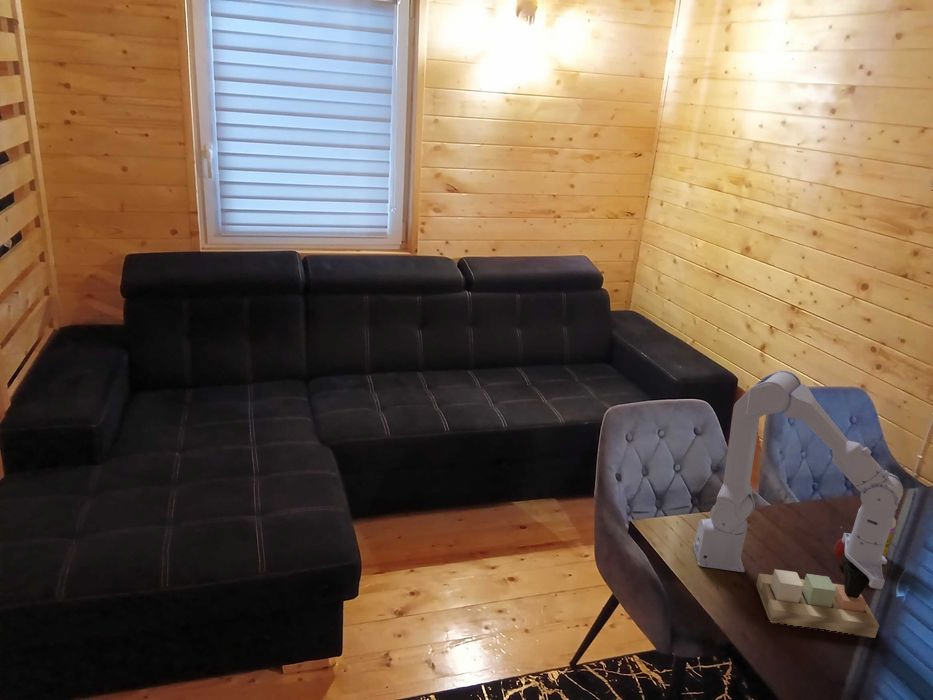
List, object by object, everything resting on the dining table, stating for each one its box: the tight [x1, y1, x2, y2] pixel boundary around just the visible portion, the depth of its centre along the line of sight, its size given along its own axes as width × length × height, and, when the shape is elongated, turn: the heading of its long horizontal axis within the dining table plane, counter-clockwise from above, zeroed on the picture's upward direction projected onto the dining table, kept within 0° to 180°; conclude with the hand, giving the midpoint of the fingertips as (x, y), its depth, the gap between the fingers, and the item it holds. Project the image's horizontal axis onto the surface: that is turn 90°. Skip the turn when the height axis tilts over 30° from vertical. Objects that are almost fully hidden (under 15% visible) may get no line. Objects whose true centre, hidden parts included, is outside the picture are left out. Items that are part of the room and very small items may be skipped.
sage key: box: [802, 573, 836, 608], centre depth 135 cm, size 4×4×4 cm
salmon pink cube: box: [834, 586, 868, 613], centre depth 135 cm, size 4×4×4 cm
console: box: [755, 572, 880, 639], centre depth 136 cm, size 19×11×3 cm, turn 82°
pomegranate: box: [833, 537, 845, 565], centre depth 149 cm, size 6×6×8 cm
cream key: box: [770, 568, 803, 603], centre depth 135 cm, size 4×4×4 cm
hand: (851, 595), depth 134 cm, fingers closed, pressing on salmon pink cube
